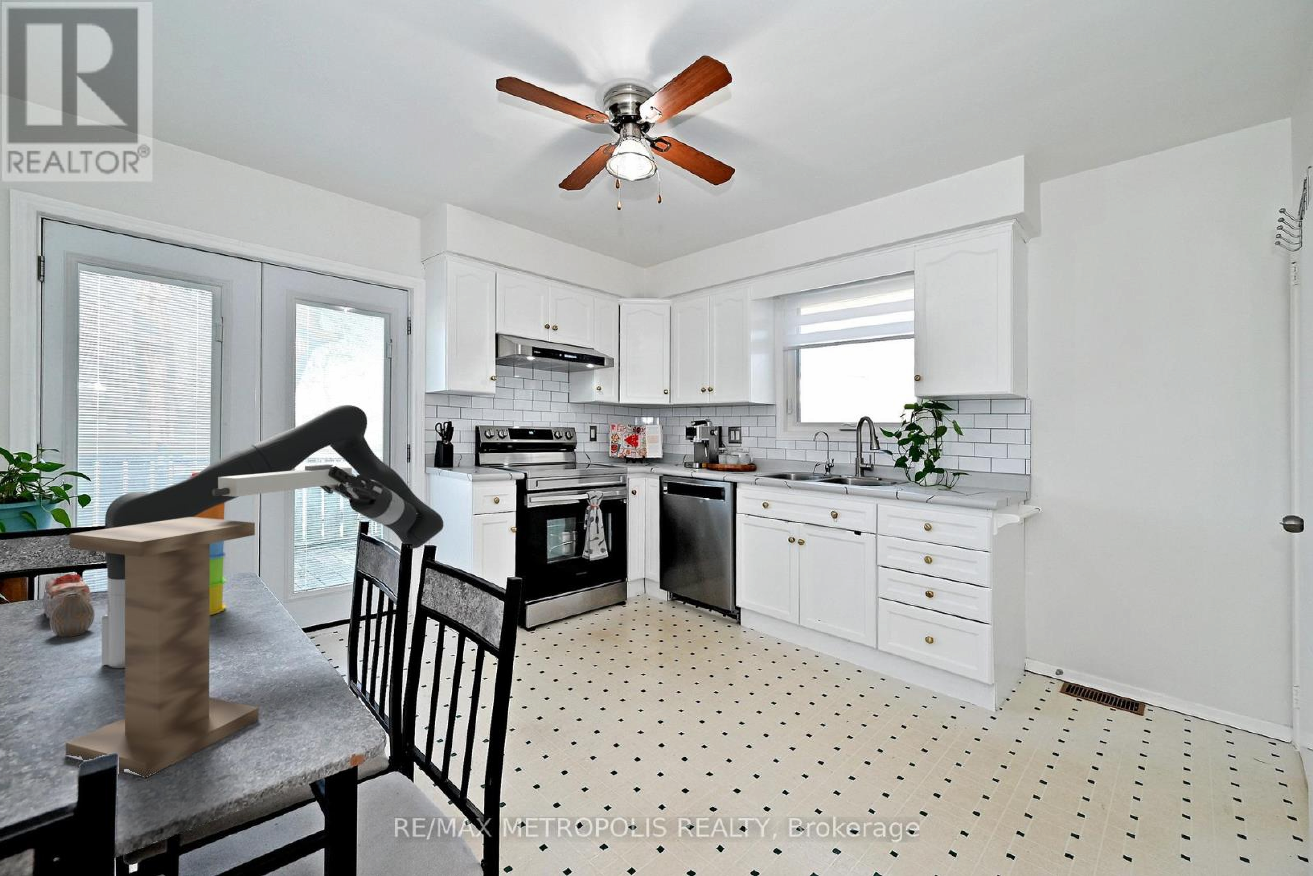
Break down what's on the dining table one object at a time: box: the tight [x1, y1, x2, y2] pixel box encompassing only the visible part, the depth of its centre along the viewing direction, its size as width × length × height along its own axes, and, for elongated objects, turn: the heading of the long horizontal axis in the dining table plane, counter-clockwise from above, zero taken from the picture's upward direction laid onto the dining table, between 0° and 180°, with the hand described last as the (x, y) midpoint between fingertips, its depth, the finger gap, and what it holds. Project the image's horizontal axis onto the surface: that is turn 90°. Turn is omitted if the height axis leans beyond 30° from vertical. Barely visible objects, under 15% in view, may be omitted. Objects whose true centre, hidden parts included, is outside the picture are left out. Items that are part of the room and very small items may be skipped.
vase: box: [49, 593, 95, 638], centre depth 126 cm, size 7×7×9 cm
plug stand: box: [65, 517, 259, 777], centre depth 86 cm, size 16×16×32 cm
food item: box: [41, 573, 91, 620], centre depth 137 cm, size 14×8×10 cm, turn 53°
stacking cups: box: [189, 472, 227, 616], centre depth 140 cm, size 10×10×35 cm
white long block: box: [212, 463, 353, 498], centre depth 105 cm, size 26×4×4 cm, turn 164°
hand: (322, 469), depth 112 cm, fingers closed on white long block, 4 cm apart
